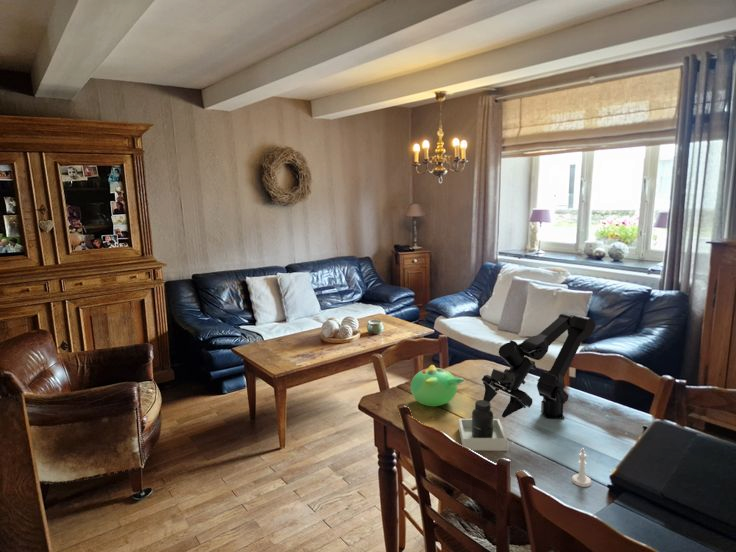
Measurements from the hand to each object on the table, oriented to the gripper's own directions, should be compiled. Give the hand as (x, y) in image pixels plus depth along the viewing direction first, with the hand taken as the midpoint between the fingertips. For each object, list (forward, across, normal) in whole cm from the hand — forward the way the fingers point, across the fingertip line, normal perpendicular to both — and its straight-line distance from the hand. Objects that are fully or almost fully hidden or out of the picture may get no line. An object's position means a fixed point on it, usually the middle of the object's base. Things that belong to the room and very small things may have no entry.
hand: (492, 411), depth 154 cm
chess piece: (+4, +32, +9) cm, 33 cm away
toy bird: (+8, -29, +5) cm, 31 cm away
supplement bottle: (+9, 0, +2) cm, 9 cm away
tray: (+9, 0, +3) cm, 10 cm away
